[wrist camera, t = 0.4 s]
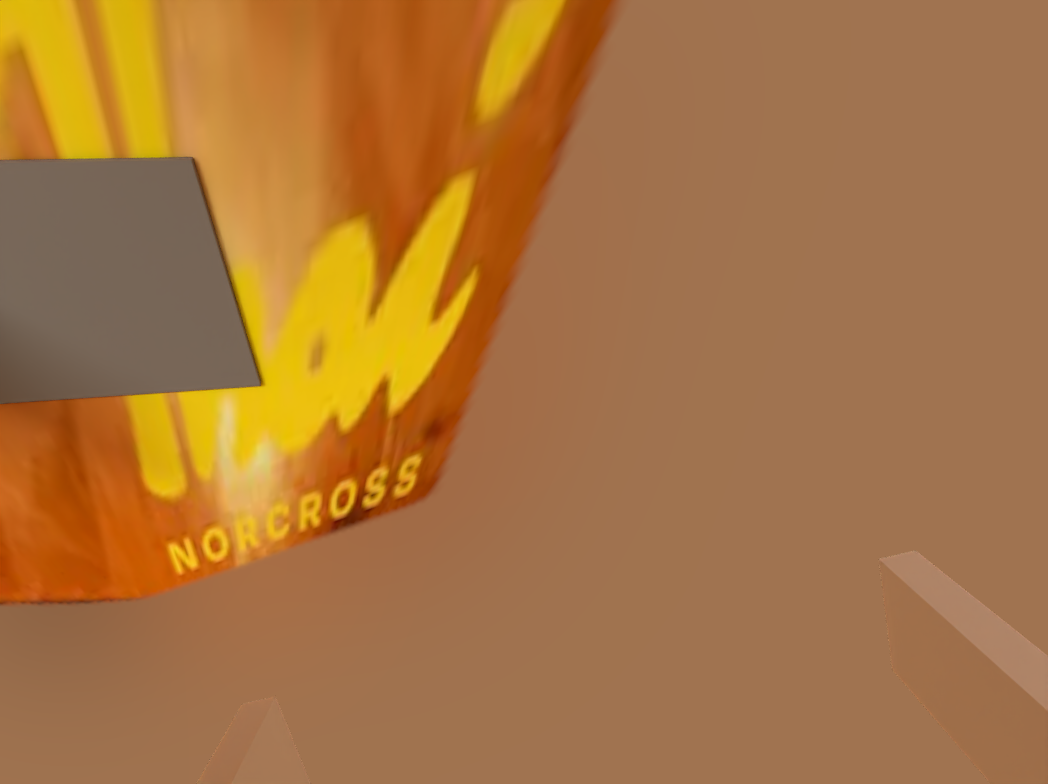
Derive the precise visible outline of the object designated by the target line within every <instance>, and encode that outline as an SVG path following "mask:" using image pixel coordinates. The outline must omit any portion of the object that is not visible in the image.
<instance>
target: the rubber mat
mask: <svg viewBox="0 0 1048 784" xmlns="http://www.w3.org/2000/svg"><path fill="white" fill-rule="evenodd" d="M250 386H261V380H260V377H259V374H258V370H257V367H256V364H255V361H254V357H253V354H252V351H251V347H250V344H249V341H248V338H247V334H246V331H245V328H244V325H243V321H242V318H241V315H240V311H239V308H238V305H237V302H236V298H235V295H234V292H233V288H232V285H231V282H230V279H229V275H228V272H227V269H226V265H225V262H224V259H223V256H222V252H221V249H220V246H219V242H218V239H217V236H216V233H215V229H214V226H213V223H212V219H211V216H210V213H209V210H208V206H207V203H206V200H205V196H204V193H203V190H202V187H201V183H200V180H199V177H198V173H197V170H196V167H195V164H194V160H193V157H176V158H111V159H46V160H0V404H4V403H19V402H33V401H48V400H62V399H77V398H91V397H106V396H120V395H135V394H149V393H164V392H178V391H192V390H207V389H221V388H236V387H250Z"/></svg>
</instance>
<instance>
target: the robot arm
mask: <svg viewBox="0 0 1048 784" xmlns="http://www.w3.org/2000/svg"><path fill="white" fill-rule="evenodd" d="M879 564H880V572H881V581H882V589H883V598H884V606H885V614H886V623H887V630H888V639H889V647H890V656H891V663H892V670H893V671H894V672H895V674H896V675H897V676H898V677H899V678H900V679H901V680H902V681H903V683H904V684H905V685H906V686H907V688H908V689H909V690H910V691H911V692H912V693H913V694H914V696H915V697H916V698H917V699H918V700H919V701H920V703H921V704H922V705H923V706H924V707H925V708H926V710H927V711H928V712H929V713H930V714H931V715H932V717H933V718H934V719H935V720H936V721H937V722H938V724H939V725H940V726H941V727H942V728H943V729H944V730H945V732H946V733H947V734H948V735H949V736H950V737H951V739H953V741H954V742H955V743H956V744H957V746H958V747H959V748H960V749H961V750H962V751H963V753H964V754H965V755H966V756H967V757H968V758H969V759H970V761H971V762H972V763H973V764H974V765H975V766H976V768H977V769H978V770H979V771H980V772H981V773H982V774H983V776H984V777H985V778H986V779H987V780H988V781H989V783H990V784H1048V656H1047V655H1046V654H1045V653H1043V652H1042V651H1041V650H1040V649H1038V648H1037V647H1036V646H1035V645H1033V644H1032V643H1031V642H1029V641H1028V640H1027V639H1026V638H1024V637H1023V636H1022V635H1021V634H1020V633H1018V632H1017V631H1016V630H1015V629H1013V628H1012V627H1011V626H1010V625H1008V624H1007V623H1006V622H1004V621H1003V620H1002V619H1001V618H999V617H998V616H997V615H996V614H994V613H993V612H992V611H991V610H989V609H988V608H987V607H986V606H984V605H983V604H982V603H981V602H979V601H978V600H977V599H976V598H974V597H973V596H972V595H971V594H969V593H968V592H967V591H966V590H964V589H963V588H962V587H961V586H959V585H958V584H957V583H956V582H954V581H953V580H952V579H950V578H949V577H948V576H947V575H946V574H944V573H943V572H942V571H941V570H939V569H938V568H937V567H936V566H934V565H933V564H932V563H930V562H929V561H928V560H927V559H925V558H924V557H923V556H922V555H920V554H919V553H918V552H917V551H912V552H907V553H903V554H898V555H895V556H890V557H885V558H881V559H879ZM197 784H311V783H310V780H309V778H308V776H307V773H306V771H305V768H304V766H303V764H302V761H301V759H300V756H299V753H298V751H297V748H296V746H295V743H294V741H293V739H292V736H291V734H290V731H289V729H288V726H287V724H286V721H285V719H284V716H283V714H282V711H281V709H280V706H279V704H278V702H277V699H276V697H271V698H266V699H262V700H257V701H253V702H249V703H245V704H241V706H240V708H239V710H238V711H237V713H236V715H235V717H234V718H233V720H232V722H231V724H230V726H229V727H228V729H227V731H226V733H225V734H224V736H223V738H222V740H221V741H220V743H219V745H218V747H217V749H216V750H215V752H214V754H213V756H212V757H211V759H210V761H209V763H208V764H207V766H206V768H205V769H204V771H203V773H202V775H201V777H200V778H199V780H198V782H197Z"/></svg>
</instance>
